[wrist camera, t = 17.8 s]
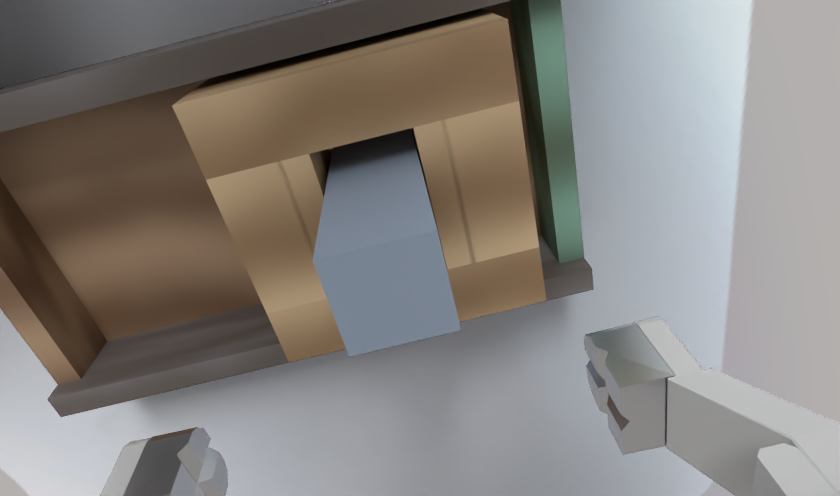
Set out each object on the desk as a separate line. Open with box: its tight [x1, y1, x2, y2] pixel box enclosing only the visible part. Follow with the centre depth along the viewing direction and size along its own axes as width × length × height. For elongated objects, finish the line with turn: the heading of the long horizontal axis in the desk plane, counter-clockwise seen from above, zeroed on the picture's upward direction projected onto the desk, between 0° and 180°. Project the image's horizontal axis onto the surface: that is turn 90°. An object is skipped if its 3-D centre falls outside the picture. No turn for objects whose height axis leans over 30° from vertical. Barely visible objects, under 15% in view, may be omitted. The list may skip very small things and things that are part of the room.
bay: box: [0, 0, 593, 417], centre depth 24 cm, size 14×26×5 cm, turn 103°
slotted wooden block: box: [172, 8, 547, 363], centre depth 23 cm, size 11×11×6 cm
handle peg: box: [312, 128, 461, 357], centre depth 20 cm, size 4×4×10 cm
